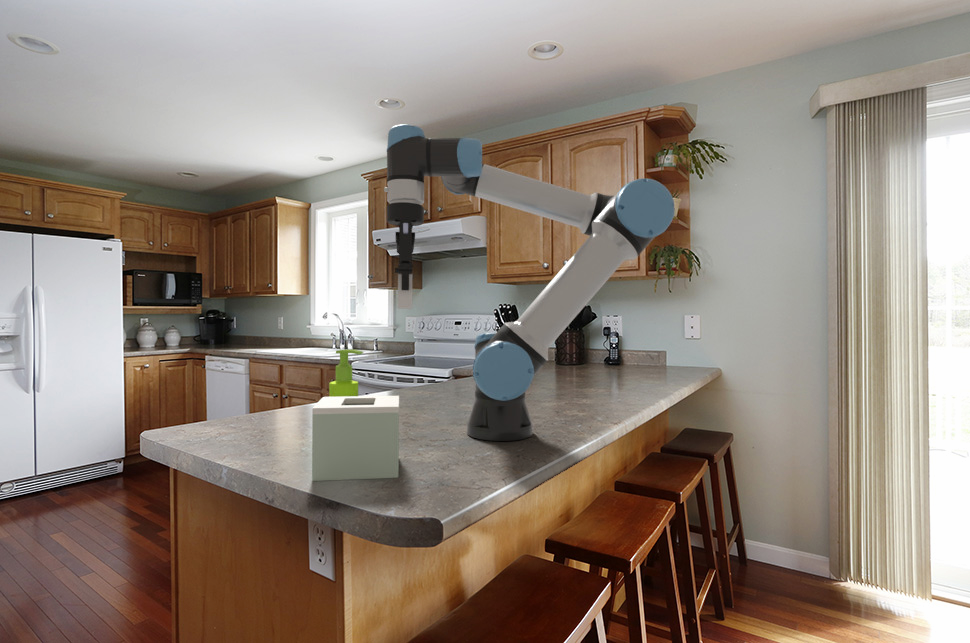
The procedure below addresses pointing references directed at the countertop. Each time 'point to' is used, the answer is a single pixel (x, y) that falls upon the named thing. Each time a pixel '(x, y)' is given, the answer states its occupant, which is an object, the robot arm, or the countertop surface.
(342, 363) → the soap dispenser
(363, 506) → the countertop surface
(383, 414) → the coin box
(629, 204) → the robot arm
